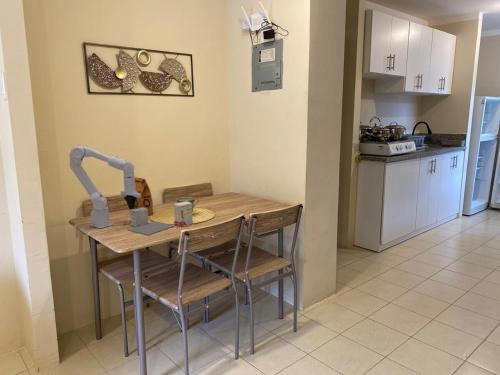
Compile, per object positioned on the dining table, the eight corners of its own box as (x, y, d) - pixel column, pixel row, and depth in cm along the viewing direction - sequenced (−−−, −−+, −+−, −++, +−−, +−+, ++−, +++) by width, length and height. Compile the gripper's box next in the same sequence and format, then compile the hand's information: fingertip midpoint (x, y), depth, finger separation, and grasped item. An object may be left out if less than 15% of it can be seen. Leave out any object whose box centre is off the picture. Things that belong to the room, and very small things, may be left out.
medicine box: (143, 222, 204) (142, 207, 202) (148, 223, 201) (147, 208, 199) (131, 225, 198) (130, 210, 196) (136, 227, 195) (134, 211, 193)
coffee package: (140, 217, 214) (137, 180, 210) (130, 213, 223) (128, 177, 219) (155, 214, 220) (153, 178, 216) (146, 210, 229) (143, 175, 225)
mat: (127, 230, 190) (127, 229, 190) (154, 222, 204) (154, 221, 204) (148, 235, 181) (148, 234, 181) (175, 226, 195) (175, 225, 195)
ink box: (179, 227, 194) (178, 205, 191) (174, 225, 197) (173, 203, 195) (193, 223, 199) (192, 202, 197) (187, 222, 203) (186, 201, 201)
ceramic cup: (181, 218, 210) (180, 201, 209) (175, 214, 219) (174, 198, 217) (202, 215, 217) (201, 198, 215) (195, 211, 225) (195, 195, 223)
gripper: (144, 184, 198) (146, 209, 200) (127, 182, 206) (129, 205, 208) (133, 186, 192) (135, 212, 195) (116, 184, 200) (118, 208, 203)
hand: (131, 209), depth 201 cm, fingers closed
